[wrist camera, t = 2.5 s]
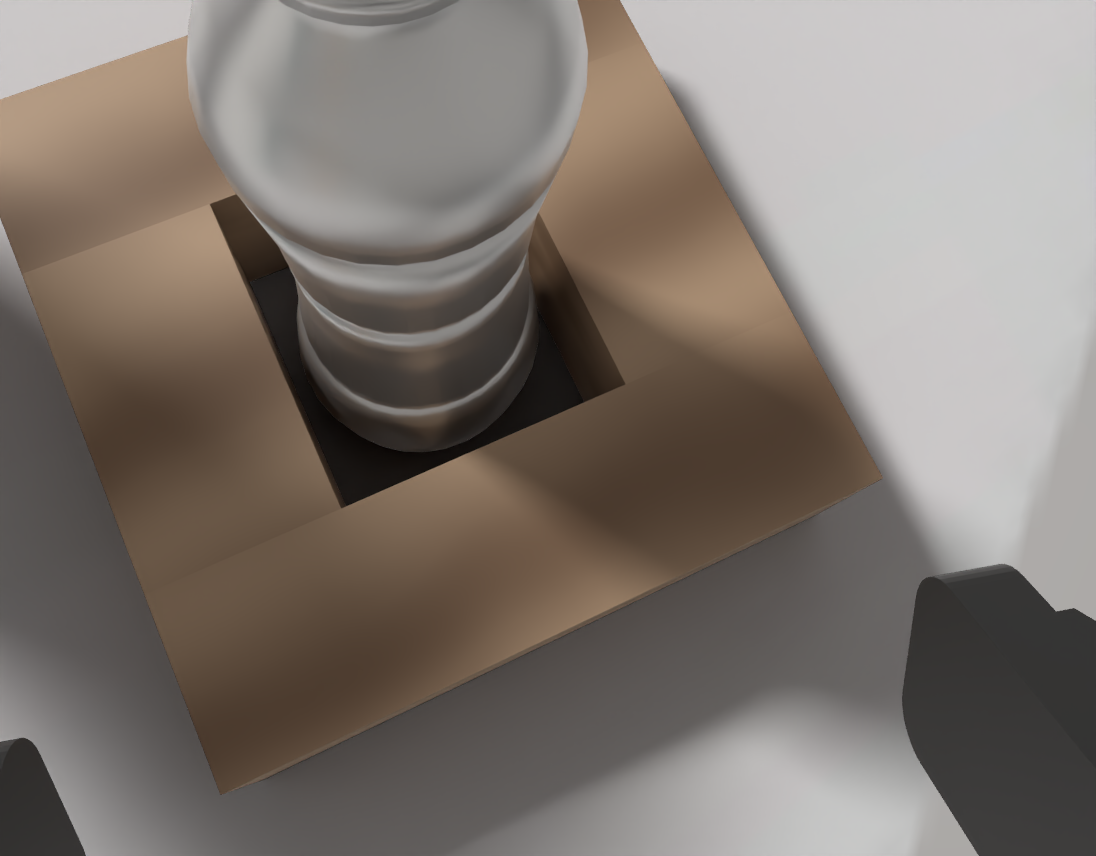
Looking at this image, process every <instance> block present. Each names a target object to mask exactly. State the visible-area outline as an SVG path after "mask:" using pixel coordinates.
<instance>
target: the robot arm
mask: <svg viewBox="0 0 1096 856" xmlns="http://www.w3.org/2000/svg"><path fill="white" fill-rule="evenodd" d="M902 706H903V715H904V720H905V725H906V729H907V732H908V736H909V739H910V742H911V744H912V747H913V749H914V751H915V753H916V756H917V758H918V759H919V761H920V763H921V765H922V766H923V768H924V769H925V771H926V773H927V774H928V776H929V777H930V779H931V780H932V782H933V784H934V785H935V787H936V788H937V790H938V792H939V793H940V795H941V796H942V798H943V800H944V801H945V802H946V804H947V806H948V807H949V809H950V811H951V812H952V814H953V815H954V817H955V819H956V820H957V821H958V823H959V825H960V827H961V828H962V830H963V831H964V833H965V834H966V836H967V838H968V839H969V841H970V842H971V844H972V845H973V847H974V849H975V850H976V852H977V854H978V855H979V856H1096V621H1095V620H1093V619H1092V618H1090V617H1088V616H1086V615H1085V614H1083V613H1081V612H1080V611H1078V610H1076V609H1074V608H1073V609H1068V610H1063V611H1057V612H1056V611H1055V610H1054V609H1053V608H1052V607H1051V606H1050V605H1049V603H1048V602H1047V601H1046V600H1045V599H1044V598H1043V597H1042V596H1041V595H1040V594H1039V593H1038V591H1037V590H1036V589H1035V588H1034V587H1033V586H1032V585H1031V584H1030V583H1029V582H1028V581H1027V580H1026V578H1025V577H1024V576H1023V575H1022V574H1021V573H1020V572H1018V571H1017V570H1016V569H1014V568H1013V567H1011V566H1009V565H1006V564H998V565H993V566H987V567H982V568H976V569H971V570H965V571H959V572H954V573H948V574H943V575H937V576H932V577H928V578H925V579H924V580H923V581H922V582H921V584H920V585H919V588H918V590H917V595H916V601H915V608H914V616H913V623H912V630H911V637H910V644H909V651H908V658H907V665H906V672H905V679H904V686H903V695H902ZM0 856H86V855H85V852H84V849H83V847H82V845H81V842H80V840H79V838H78V836H77V834H76V832H75V829H74V827H73V825H72V823H71V821H70V819H69V816H68V814H67V812H66V810H65V808H64V805H63V803H62V801H61V799H60V797H59V795H58V792H57V790H56V788H55V786H54V784H53V781H52V779H51V777H50V775H49V773H48V771H47V768H46V766H45V764H44V762H43V760H42V757H41V755H40V753H39V751H38V750H37V748H36V747H35V745H34V744H33V743H32V742H31V741H30V740H28V739H26V738H19V739H13V740H8V741H2V742H0Z"/></svg>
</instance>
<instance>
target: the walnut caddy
mask: <svg viewBox="0 0 1096 856" xmlns="http://www.w3.org/2000/svg"><path fill="white" fill-rule="evenodd" d="M577 1H578V5H579V9H580V12H581V16H582V21H583V27H584V32H585V38H586V43H587V49H588V65H587V87H586V91H585V95H584V99H583V103H582V107H581V110H580V114H579V118H578V122H577V125H576V128H575V130H574V133H573V137H572V140H571V144H570V147H569V149H568V151H567V153H566V155H565V157H564V159H563V161H562V163H561V166H560V168H559V170H558V172H557V174H556V176H555V178H554V180H553V183H552V185H551V187H550V189H549V191H548V193H547V195H546V197H545V200H544V202H543V204H542V206H541V208H540V210H539V212H538V214H537V216H536V220H535V224H534V228H533V232H532V236H531V240H530V244H529V247H528V260H529V272H530V275H531V278H532V280H533V284H534V290H535V297H536V303H537V308H538V310H539V312H540V314H541V316H542V318H543V320H544V322H545V324H546V326H547V328H548V330H549V332H550V334H551V336H552V338H553V340H554V342H555V344H556V346H557V348H558V350H559V352H560V354H561V356H562V358H563V360H564V362H565V364H566V366H567V368H568V370H569V372H570V374H571V376H572V378H573V380H574V382H575V384H576V387H577V389H578V391H579V393H580V395H581V397H582V399H583V401H584V403H582V404H579V405H577V406H575V407H572V408H570V409H568V410H566V411H563V412H561V413H559V414H556V415H554V416H552V417H550V418H547V419H545V420H543V421H540V422H538V423H536V424H534V425H531V426H529V427H527V428H524V429H522V430H520V431H518V432H515V433H513V434H511V435H508V436H506V437H504V438H502V439H499V440H497V441H495V442H492V443H490V444H488V445H486V446H483V447H481V448H479V449H476V450H474V451H472V452H470V453H467V454H465V455H463V456H460V457H458V458H456V459H454V460H451V461H449V462H447V463H444V464H442V465H440V466H438V467H435V468H433V469H431V470H428V471H426V472H424V473H422V474H419V475H417V476H415V477H412V478H410V479H408V480H405V481H403V482H401V483H399V484H396V485H394V486H392V487H389V488H387V489H385V490H383V491H380V492H378V493H376V494H373V495H371V496H369V497H367V498H364V499H362V500H360V501H357V502H355V503H353V504H351V505H348V506H346V505H345V502H344V500H343V498H342V495H341V493H340V491H339V488H338V486H337V484H336V481H335V479H334V477H333V474H332V472H331V470H330V468H329V465H328V463H327V461H326V458H325V456H324V454H323V451H322V449H321V447H320V444H319V442H318V440H317V437H316V435H315V433H314V431H313V428H312V426H311V424H310V421H309V419H308V417H307V414H306V412H305V410H304V407H303V405H302V403H301V400H300V398H299V396H298V394H297V391H296V389H295V387H294V384H293V382H292V380H291V377H290V375H289V373H288V370H287V368H286V366H285V363H284V361H283V359H282V357H281V354H280V352H279V350H278V347H277V345H276V343H275V340H274V338H273V336H272V333H271V331H270V329H269V326H268V324H267V322H266V320H265V317H264V315H263V313H262V310H261V308H260V306H259V303H258V301H257V299H256V296H255V294H254V292H253V289H252V287H251V285H250V283H249V282H251V281H254V280H256V279H259V278H261V277H264V276H267V275H269V274H272V273H274V272H277V271H279V270H282V269H284V268H287V267H289V265H288V264H287V262H286V260H285V258H284V256H283V254H282V252H281V250H280V248H279V247H278V245H277V244H276V243H275V242H274V240H273V239H272V238H271V237H270V235H269V234H268V233H267V232H266V230H265V229H264V228H263V227H262V225H261V224H260V223H259V222H258V220H257V219H256V218H255V217H254V215H253V214H252V213H251V212H250V210H249V209H248V208H247V207H246V205H245V204H244V203H243V202H242V200H241V199H240V198H239V197H238V195H237V194H236V193H235V192H234V191H233V189H232V188H231V186H230V184H229V182H228V181H227V179H226V177H225V175H224V174H223V172H222V170H221V169H220V167H219V166H218V164H217V162H216V160H215V159H214V157H213V155H212V153H211V152H210V150H209V148H208V146H207V145H206V143H205V141H204V139H203V138H202V136H201V134H200V132H199V129H198V125H197V122H196V119H195V116H194V112H193V109H192V106H191V103H190V99H189V90H188V76H187V62H186V61H187V43H188V35H187V36H184V37H182V38H179V39H176V40H173V41H170V42H167V43H164V44H161V45H158V46H155V47H152V48H149V49H146V50H144V51H141V52H138V53H135V54H132V55H129V56H126V57H123V58H120V59H117V60H114V61H111V62H109V63H106V64H103V65H100V66H97V67H94V68H91V69H88V70H85V71H82V72H79V73H76V74H73V75H71V76H68V77H65V78H62V79H59V80H56V81H53V82H50V83H47V84H44V85H41V86H38V87H35V88H33V89H30V90H27V91H24V92H21V93H18V94H15V95H12V96H9V97H6V98H3V99H0V218H1V221H2V224H3V226H4V229H5V231H6V234H7V237H8V239H9V242H10V245H11V247H12V250H13V252H14V255H15V258H16V260H17V263H18V265H19V268H20V271H21V273H22V276H23V279H24V281H25V284H26V286H27V289H28V292H29V294H30V297H31V300H32V302H33V305H34V307H35V310H36V313H37V315H38V318H39V320H40V323H41V326H42V328H43V331H44V334H45V336H46V339H47V341H48V344H49V347H50V349H51V352H52V355H53V357H54V360H55V362H56V365H57V368H58V370H59V373H60V375H61V378H62V381H63V383H64V386H65V389H66V391H67V394H68V396H69V399H70V402H71V404H72V407H73V409H74V412H75V415H76V417H77V420H78V423H79V425H80V428H81V430H82V433H83V436H84V438H85V441H86V444H87V446H88V449H89V451H90V454H91V457H92V459H93V462H94V464H95V467H96V470H97V472H98V475H99V478H100V480H101V483H102V485H103V488H104V491H105V493H106V496H107V499H108V501H109V504H110V506H111V509H112V512H113V514H114V517H115V519H116V522H117V525H118V527H119V530H120V533H121V535H122V538H123V540H124V543H125V546H126V548H127V551H128V554H129V556H130V559H131V561H132V564H133V567H134V569H135V572H136V574H137V577H138V580H139V582H140V585H141V588H142V590H143V593H144V595H145V598H146V601H147V603H148V606H149V609H150V611H151V614H152V616H153V619H154V622H155V624H156V627H157V629H158V632H159V635H160V637H161V640H162V643H163V645H164V648H165V650H166V653H167V656H168V658H169V661H170V664H171V666H172V669H173V671H174V674H175V677H176V679H177V682H178V684H179V687H180V690H181V692H182V695H183V698H184V700H185V703H186V705H187V708H188V711H189V713H190V716H191V719H192V721H193V724H194V726H195V729H196V732H197V734H198V737H199V739H200V742H201V745H202V747H203V750H204V753H205V755H206V758H207V760H208V763H209V766H210V768H211V771H212V774H213V776H214V779H215V781H216V784H217V787H218V789H219V792H220V794H221V795H222V794H225V793H227V792H230V791H233V790H236V789H239V788H242V787H244V786H247V785H250V784H253V783H256V782H258V781H261V780H264V779H266V778H268V777H270V776H272V775H274V774H276V773H278V772H281V771H283V770H285V769H287V768H289V767H291V766H293V765H295V764H297V763H299V762H301V761H303V760H306V759H308V758H310V757H312V756H314V755H316V754H318V753H320V752H322V751H324V750H326V749H328V748H331V747H333V746H335V745H337V744H339V743H341V742H343V741H345V740H347V739H349V738H351V737H354V736H356V735H358V734H360V733H362V732H364V731H366V730H368V729H370V728H372V727H374V726H376V725H379V724H381V723H383V722H385V721H387V720H389V719H391V718H393V717H395V716H397V715H399V714H402V713H404V712H406V711H408V710H410V709H412V708H414V707H416V706H418V705H420V704H422V703H424V702H427V701H429V700H431V699H433V698H435V697H437V696H439V695H441V694H443V693H445V692H447V691H449V690H452V689H454V688H456V687H458V686H460V685H462V684H464V683H466V682H468V681H470V680H472V679H475V678H477V677H479V676H481V675H483V674H485V673H487V672H489V671H491V670H493V669H495V668H497V667H500V666H502V665H504V664H506V663H508V662H510V661H512V660H514V659H516V658H518V657H520V656H523V655H525V654H527V653H529V652H531V651H533V650H535V649H537V648H539V647H541V646H543V645H545V644H548V643H550V642H552V641H554V640H556V639H558V638H560V637H562V636H564V635H566V634H568V633H570V632H573V631H575V630H577V629H579V628H581V627H583V626H585V625H587V624H589V623H591V622H593V621H596V620H598V619H600V618H602V617H604V616H606V615H608V614H610V613H612V612H614V611H616V610H618V609H621V608H623V607H625V606H627V605H629V604H631V603H633V602H635V601H637V600H639V599H641V598H644V597H646V596H648V595H650V594H652V593H654V592H656V591H658V590H660V589H662V588H664V587H666V586H669V585H671V584H673V583H675V582H677V581H679V580H681V579H683V578H685V577H687V576H689V575H691V574H694V573H696V572H698V571H700V570H702V569H704V568H706V567H708V566H710V565H712V564H714V563H717V562H719V561H721V560H723V559H725V558H727V557H729V556H731V555H733V554H735V553H737V552H739V551H742V550H744V549H746V548H748V547H750V546H752V545H754V544H756V543H758V542H760V541H762V540H765V539H767V538H769V537H771V536H773V535H775V534H777V533H779V532H781V531H783V530H785V529H787V528H790V527H792V526H794V525H796V524H798V523H800V522H802V521H804V520H806V519H808V518H810V517H812V516H815V515H817V514H819V513H820V512H822V511H824V510H826V509H828V508H829V507H831V506H833V505H835V504H837V503H839V502H840V501H842V500H844V499H846V498H848V497H849V496H851V495H853V494H855V493H857V492H859V491H860V490H862V489H864V488H866V487H868V486H869V485H871V484H873V483H875V482H877V481H879V480H880V479H882V478H883V477H882V475H881V473H880V472H879V470H878V468H877V466H876V464H875V463H874V461H873V459H872V457H871V455H870V454H869V452H868V450H867V448H866V446H865V444H864V443H863V441H862V439H861V437H860V435H859V434H858V432H857V430H856V428H855V426H854V424H853V423H852V421H851V419H850V417H849V415H848V414H847V412H846V410H845V408H844V406H843V405H842V403H841V401H840V399H839V397H838V395H837V394H836V392H835V390H834V388H833V386H832V385H831V383H830V381H829V379H828V377H827V375H826V374H825V372H824V370H823V368H822V366H821V365H820V363H819V361H818V359H817V357H816V356H815V354H814V352H813V350H812V348H811V346H810V345H809V343H808V341H807V339H806V337H805V336H804V334H803V332H802V330H801V328H800V326H799V325H798V323H797V321H796V319H795V317H794V316H793V314H792V312H791V310H790V308H789V307H788V305H787V303H786V301H785V299H784V297H783V296H782V294H781V292H780V290H779V288H778V287H777V285H776V283H775V281H774V279H773V277H772V276H771V274H770V272H769V270H768V268H767V267H766V265H765V263H764V261H763V259H762V258H761V256H760V254H759V252H758V250H757V248H756V247H755V245H754V243H753V241H752V239H751V238H750V236H749V234H748V232H747V230H746V228H745V227H744V225H743V223H742V221H741V219H740V218H739V216H738V214H737V212H736V210H735V209H734V207H733V205H732V203H731V201H730V199H729V198H728V196H727V194H726V192H725V190H724V189H723V187H722V185H721V183H720V181H719V179H718V178H717V176H716V174H715V172H714V170H713V169H712V167H711V165H710V163H709V161H708V160H707V158H706V156H705V154H704V152H703V150H702V149H701V147H700V145H699V143H698V141H697V140H696V138H695V136H694V134H693V132H692V130H691V129H690V127H689V125H688V123H687V121H686V120H685V118H684V116H683V114H682V112H681V111H680V109H679V107H678V105H677V103H676V101H675V100H674V98H673V96H672V94H671V92H670V91H669V89H668V87H667V85H666V83H665V82H664V80H663V78H662V76H661V74H660V72H659V71H658V69H657V67H656V65H655V63H654V62H653V60H652V58H651V56H650V54H649V52H648V51H647V49H646V47H645V45H644V43H643V42H642V40H641V38H640V36H639V34H638V33H637V31H636V29H635V27H634V25H633V23H632V22H631V20H630V18H629V16H628V14H627V13H626V11H625V9H624V7H623V5H622V3H621V2H620V0H577Z"/></svg>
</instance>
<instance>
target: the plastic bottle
mask: <svg viewBox="0 0 1096 856" xmlns="http://www.w3.org/2000/svg"><path fill="white" fill-rule="evenodd" d="M186 62H187V76H188V90H189V99H190V103H191V106H192V109H193V112H194V116H195V119H196V122H197V125H198V129H199V132H200V134H201V136H202V138H203V139H204V141H205V143H206V145H207V146H208V148H209V150H210V152H211V153H212V155H213V157H214V159H215V160H216V162H217V164H218V166H219V167H220V169H221V170H222V172H223V174H224V175H225V177H226V179H227V181H228V182H229V184H230V186H231V188H232V189H233V191H234V192H235V193H236V194H237V195H238V197H239V198H240V199H241V200H242V202H243V203H244V204H245V205H246V207H247V208H248V209H249V210H250V212H251V213H252V214H253V215H254V217H255V218H256V219H257V220H258V222H259V223H260V224H261V225H262V227H263V228H264V229H265V230H266V232H267V233H268V234H269V235H270V237H271V238H272V239H273V240H274V242H275V243H276V244H277V245H278V247H279V248H280V250H281V252H282V254H283V256H284V258H285V260H286V262H287V264H288V265H289V267H290V270H291V272H292V274H293V276H294V278H295V281H296V287H297V293H298V298H299V299H298V308H297V328H298V340H299V351H300V358H301V362H302V365H303V368H304V371H305V374H306V378H307V380H308V382H309V384H310V385H311V387H312V389H313V391H314V393H315V394H316V396H317V398H318V400H319V401H320V402H321V403H322V404H323V405H324V406H325V408H326V409H327V410H328V411H329V412H330V413H331V414H332V416H333V417H334V418H336V419H337V420H338V421H340V422H341V423H342V424H344V425H345V426H346V427H348V428H349V429H351V430H352V431H353V432H355V433H356V434H358V435H359V436H361V437H362V438H365V439H367V440H369V441H371V442H373V443H375V444H377V445H380V446H382V447H386V448H390V449H394V450H399V451H405V452H429V451H435V450H441V449H446V448H449V447H452V446H455V445H457V444H460V443H463V442H466V441H467V440H469V439H471V438H472V437H474V436H476V435H477V434H479V433H481V432H482V431H484V430H485V429H486V428H487V427H489V426H490V425H491V424H492V423H493V422H494V421H495V420H496V419H497V418H499V417H500V416H501V415H502V414H503V412H504V411H505V410H506V409H507V408H508V407H509V405H510V404H511V403H512V401H513V400H514V399H515V397H516V396H517V395H518V393H519V392H520V391H521V389H522V388H523V386H524V384H525V382H526V380H527V377H528V375H529V373H530V371H531V369H532V367H533V363H534V359H535V355H536V351H537V347H538V336H539V317H538V310H537V303H536V297H535V290H534V284H533V280H532V278H531V275H530V272H529V260H528V247H529V244H530V240H531V236H532V232H533V228H534V224H535V220H536V216H537V214H538V212H539V210H540V208H541V206H542V204H543V202H544V200H545V197H546V195H547V193H548V191H549V189H550V187H551V185H552V183H553V180H554V178H555V176H556V174H557V172H558V170H559V168H560V166H561V163H562V161H563V159H564V157H565V155H566V153H567V151H568V149H569V147H570V144H571V140H572V137H573V133H574V130H575V128H576V125H577V122H578V118H579V114H580V110H581V107H582V103H583V99H584V95H585V91H586V87H587V65H588V49H587V43H586V38H585V32H584V27H583V21H582V16H581V12H580V9H579V5H578V1H577V0H192V6H191V12H190V19H189V25H188V43H187V61H186Z"/></svg>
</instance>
